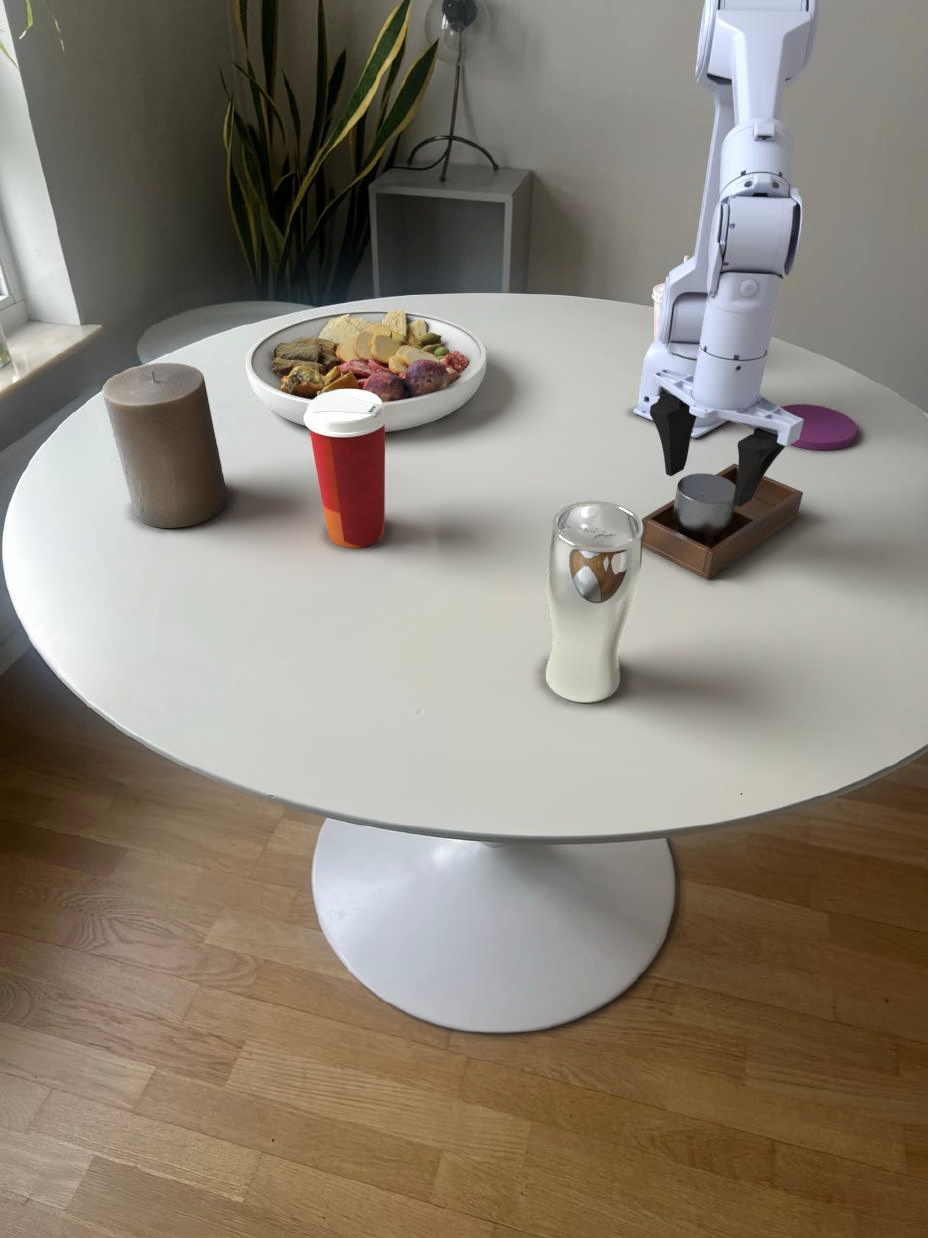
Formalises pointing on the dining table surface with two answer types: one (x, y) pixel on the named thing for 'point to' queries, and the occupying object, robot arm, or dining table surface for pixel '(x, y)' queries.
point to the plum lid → (822, 427)
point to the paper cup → (350, 463)
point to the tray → (747, 530)
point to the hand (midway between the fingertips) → (707, 486)
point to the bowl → (369, 364)
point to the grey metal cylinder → (704, 507)
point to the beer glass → (591, 596)
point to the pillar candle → (166, 444)
